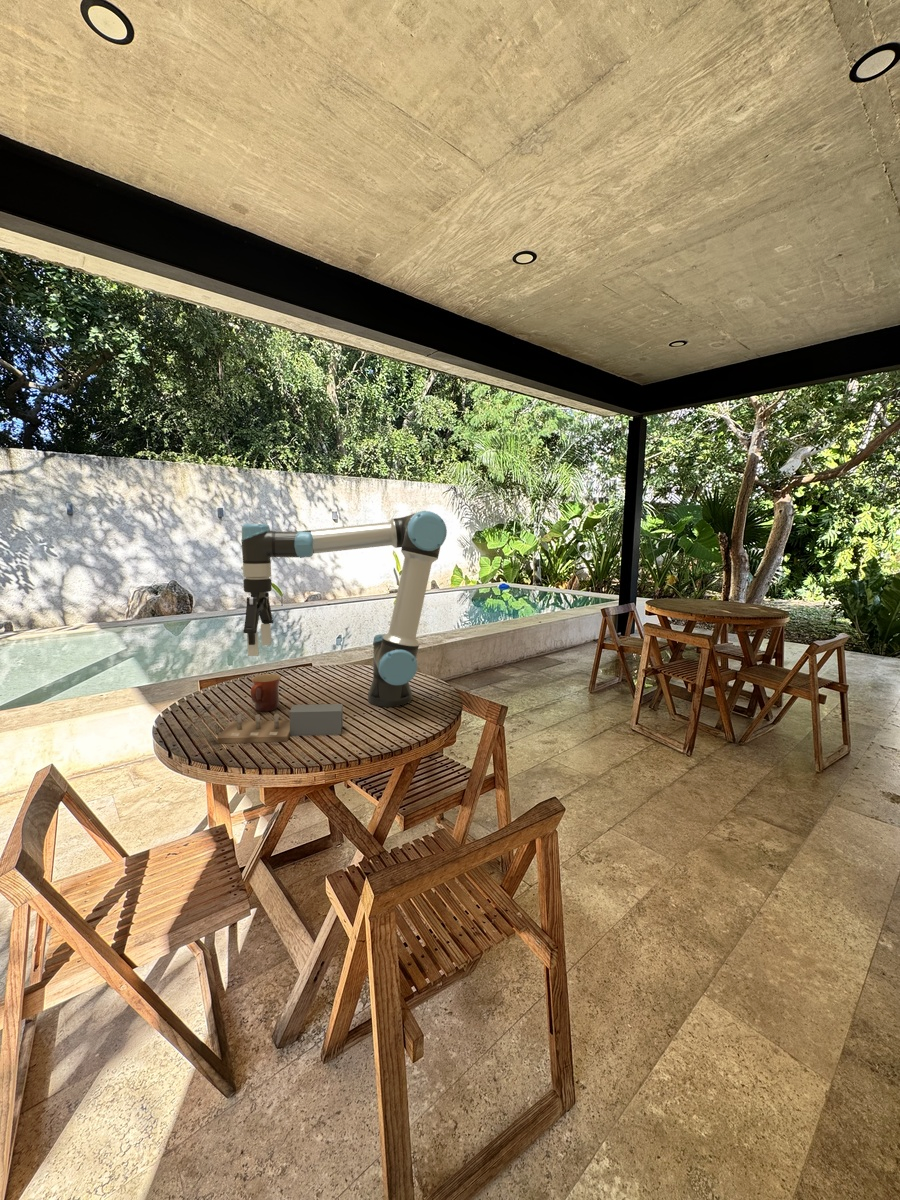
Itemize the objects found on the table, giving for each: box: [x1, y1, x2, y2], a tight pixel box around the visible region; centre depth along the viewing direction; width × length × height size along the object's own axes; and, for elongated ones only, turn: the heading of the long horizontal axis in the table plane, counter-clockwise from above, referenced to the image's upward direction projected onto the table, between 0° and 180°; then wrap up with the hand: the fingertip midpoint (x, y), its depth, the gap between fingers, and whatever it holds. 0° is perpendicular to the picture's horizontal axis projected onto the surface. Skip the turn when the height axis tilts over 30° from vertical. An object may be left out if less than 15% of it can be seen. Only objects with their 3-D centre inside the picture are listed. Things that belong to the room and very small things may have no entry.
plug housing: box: [289, 703, 344, 737], centre depth 141 cm, size 14×6×7 cm, turn 97°
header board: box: [216, 713, 291, 745], centre depth 138 cm, size 18×12×6 cm, turn 97°
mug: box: [250, 673, 281, 713], centre depth 156 cm, size 12×9×10 cm
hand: (260, 650), depth 144 cm, fingers open, 13 cm apart
